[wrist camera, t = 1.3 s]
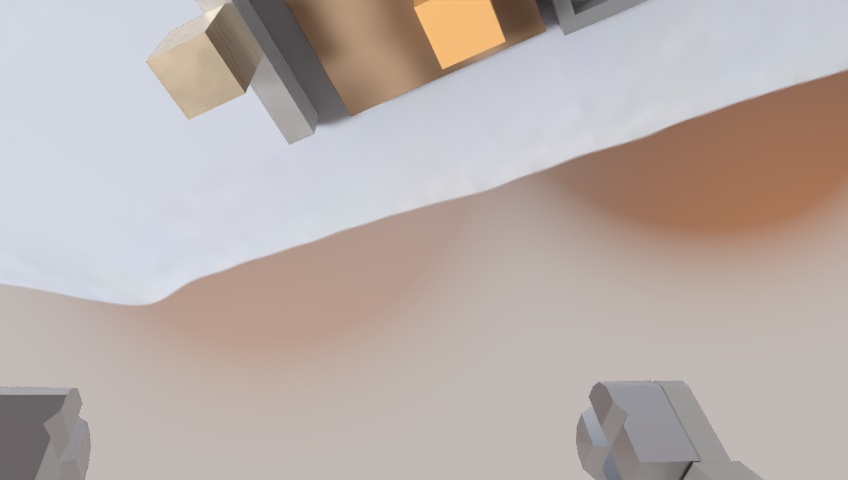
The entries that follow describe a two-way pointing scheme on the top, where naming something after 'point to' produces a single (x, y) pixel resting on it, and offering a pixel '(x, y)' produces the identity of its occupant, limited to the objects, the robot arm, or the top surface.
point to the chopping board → (390, 44)
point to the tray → (587, 12)
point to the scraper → (231, 67)
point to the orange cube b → (459, 28)
